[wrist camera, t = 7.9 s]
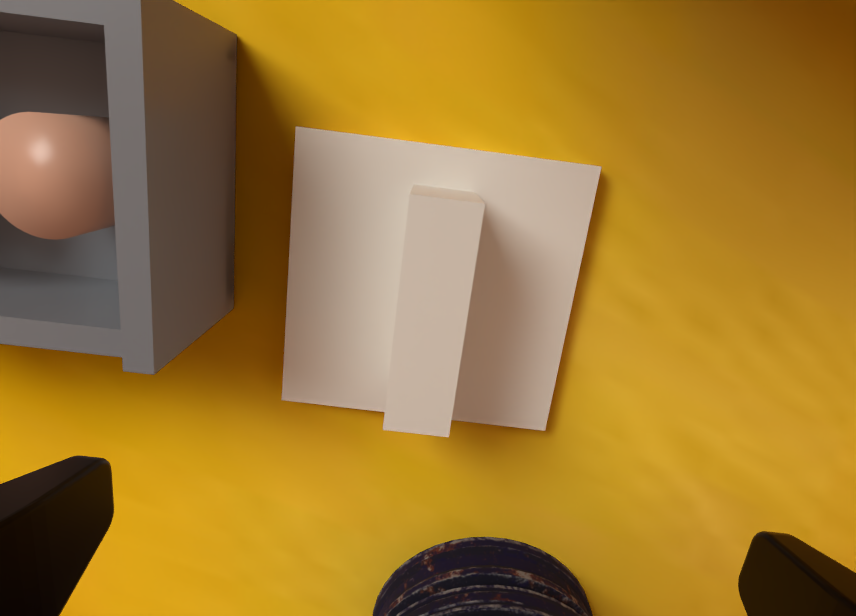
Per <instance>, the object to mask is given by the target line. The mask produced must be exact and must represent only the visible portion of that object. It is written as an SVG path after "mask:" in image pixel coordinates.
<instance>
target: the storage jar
mask: <svg viewBox="0 0 856 616" xmlns="http://www.w3.org/2000/svg"><path fill="white" fill-rule="evenodd" d="M373 616H593V615H592V612H591V609H590V606H589V603H588V600H587V597H586V595H585V592H584V590H583V588H582V587H581V585H580V583H579V582H578V580H577V579H576V577H575V576H574V575H573V574H572V573H571V572H570V571H569V569H568V568H567V567H565V566H564V565H563V564H562V563H561V562H559V561H558V560H557V559H556V558H554V557H553V556H551V555H549V554H547V553H546V552H544V551H542V550H540V549H538V548H535V547H533V546H530V545H528V544H525V543H522V542H518V541H514V540H510V539H503V538H494V537H470V538H464V539H458V540H452V541H449V542H445V543H442V544H439V545H435V546H433V547H431V548H429V549H427V550H424V551H422V552H420V553H418V554H417V555H415V556H414V557H412V558H411V559H409V560H408V561H406V562H405V563H404V564H403V565H401V566H400V567H399V568H398V569H397V570H396V571H395V572H394V573H393V574H392V575H391V577H390V578H389V579H388V580H387V582H386V583H385V584H384V586H383V588H382V590H381V591H380V593H379V595H378V597H377V600H376V604H375V607H374V610H373Z"/></svg>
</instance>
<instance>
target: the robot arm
mask: <svg viewBox="0 0 856 616" xmlns="http://www.w3.org/2000/svg"><path fill="white" fill-rule="evenodd" d="M113 513H114V501H113V486H112V471H111V466H110V463H109V462H108V461H107V460H106V459H104V458H97V457H88V456H73V457H70V458H68V459H65V460H62V461H60V462H57V463H55V464H52V465H49V466H47V467H44V468H41V469H39V470H36V471H34V472H31V473H28V474H26V475H23V476H21V477H18V478H15V479H13V480H10V481H7V482H5V483H2V484H0V616H59V615H60V614H61V612H62V610H63V608H64V606H65V605H66V603H67V601H68V599H69V598H70V596H71V594H72V592H73V591H74V589H75V587H76V585H77V584H78V582H79V580H80V578H81V576H82V575H83V573H84V571H85V569H86V568H87V566H88V564H89V562H90V561H91V559H92V557H93V555H94V554H95V552H96V550H97V548H98V547H99V545H100V543H101V541H102V539H103V538H104V536H105V534H106V532H107V531H108V529H109V527H110V524H111V522H112V518H113ZM738 587H739V593H740V597H741V600H742V602H743V605H744V607H745V610H746V613H747V615H748V616H856V573H855V572H853V571H852V570H850V569H848V568H847V567H845V566H843V565H841V564H840V563H838V562H836V561H835V560H833V559H831V558H830V557H828V556H826V555H825V554H823V553H821V552H820V551H818V550H816V549H814V548H813V547H811V546H809V545H808V544H806V543H804V542H803V541H801V540H799V539H798V538H796V537H794V536H792V535H789V534H784V533H775V532H766V531H762V532H759V533H757V534H756V535H755V536H754V537H753V539H752V542H751V545H750V547H749V550H748V553H747V556H746V559H745V561H744V564H743V567H742V570H741V572H740V575H739V582H738Z"/></svg>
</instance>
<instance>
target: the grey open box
mask: <svg viewBox="0 0 856 616" xmlns="http://www.w3.org/2000/svg"><path fill="white" fill-rule="evenodd" d="M236 63H237V35H236V34H235V33H233V32H231V31H229V30H227V29H225V28H223V27H222V26H220V25H218V24H216V23H214V22H212V21H210V20H208V19H207V18H205V17H203V16H201V15H199V14H197V13H195V12H194V11H192V10H190V9H188V8H186V7H184V6H182V5H181V4H179V3H177V2H175V1H173V0H0V344H7V345H16V346H25V347H34V348H43V349H52V350H61V351H70V352H79V353H88V354H97V355H106V356H115V357H122V363H123V371H126V372H135V373H144V374H153V375H154V374H155V373H157V372H158V371H159V370H160V369H161V368H163V367H164V366H165V365H166V364H167V363H169V362H170V361H171V360H172V359H174V358H175V357H176V356H177V355H178V354H180V353H181V352H182V351H183V350H184V349H186V348H187V347H188V346H189V345H190V344H192V343H193V342H194V341H195V340H196V339H198V338H199V337H200V336H201V335H202V334H204V333H205V332H206V331H207V330H208V329H210V328H211V327H212V326H213V325H214V324H216V323H217V322H218V321H219V320H220V319H222V318H223V317H224V316H225V315H226V314H228V313H229V312H230V311H231V310H232V309H234V245H235V154H236Z"/></svg>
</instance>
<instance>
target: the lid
mask: <svg viewBox="0 0 856 616" xmlns="http://www.w3.org/2000/svg"><path fill="white" fill-rule="evenodd" d="M600 172H601V166H594V165H586V164H579V163H571V162H563V161H556V160H548V159H541V158H533V157H526V156H518V155H510V154H503V153H495V152H488V151H480V150H473V149H465V148H457V147H450V146H442V145H435V144H427V143H419V142H412V141H404V140H397V139H389V138H382V137H374V136H366V135H359V134H351V133H344V132H336V131H329V130H321V129H313V128H306V127H298V126H296V131H295V151H294V170H293V190H292V209H291V229H290V248H289V268H288V287H287V307H286V326H285V346H284V365H283V385H282V400H285V401H293V402H302V403H311V404H319V405H328V406H336V407H345V408H354V409H362V410H371V411H379V412H385V414H384V423H383V430H390V431H399V432H407V433H416V434H425V435H433V436H442V437H449V433H450V426H451V420H456V421H465V422H474V423H482V424H491V425H499V426H508V427H517V428H525V429H534V430H542V431H545V429H546V424H547V419H548V415H549V410H550V405H551V401H552V396H553V391H554V387H555V382H556V377H557V372H558V368H559V363H560V358H561V354H562V349H563V344H564V340H565V335H566V330H567V326H568V321H569V316H570V312H571V307H572V302H573V298H574V293H575V288H576V284H577V279H578V274H579V270H580V265H581V260H582V256H583V251H584V246H585V242H586V237H587V232H588V228H589V223H590V218H591V214H592V209H593V204H594V200H595V195H596V190H597V186H598V181H599V176H600Z"/></svg>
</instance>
